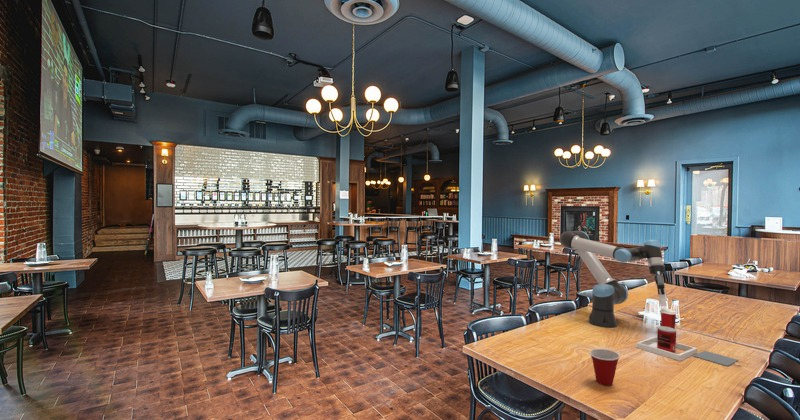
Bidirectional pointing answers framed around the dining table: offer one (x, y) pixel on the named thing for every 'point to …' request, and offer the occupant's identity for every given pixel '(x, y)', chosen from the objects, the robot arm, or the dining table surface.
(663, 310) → the paper cup
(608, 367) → the plastic cup
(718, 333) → the dining table surface
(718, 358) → the mat
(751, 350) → the dining table surface
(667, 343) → the canned food
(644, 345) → the corral
